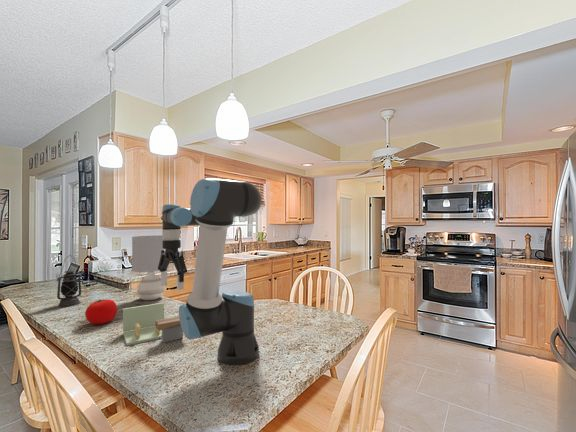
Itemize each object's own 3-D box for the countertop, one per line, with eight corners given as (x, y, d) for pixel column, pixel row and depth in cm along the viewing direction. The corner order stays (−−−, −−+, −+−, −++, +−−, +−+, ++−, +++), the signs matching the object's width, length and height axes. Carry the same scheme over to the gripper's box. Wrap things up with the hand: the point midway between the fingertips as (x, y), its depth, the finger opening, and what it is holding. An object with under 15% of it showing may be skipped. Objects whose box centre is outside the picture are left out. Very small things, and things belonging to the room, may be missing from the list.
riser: (182, 338, 124) (182, 324, 124) (162, 343, 120) (162, 328, 120) (181, 336, 126) (181, 322, 126) (161, 341, 122) (161, 326, 122)
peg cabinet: (171, 336, 127) (171, 310, 127) (126, 345, 118) (126, 318, 118) (163, 325, 140) (163, 302, 140) (122, 333, 130) (123, 308, 131)
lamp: (127, 298, 190) (128, 236, 190) (162, 292, 204) (162, 235, 205) (138, 305, 174) (138, 237, 174) (174, 298, 188) (174, 236, 189)
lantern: (78, 300, 186) (78, 253, 186) (84, 303, 179) (84, 254, 180) (53, 305, 175) (54, 255, 176) (60, 308, 169) (60, 256, 170)
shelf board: (188, 324, 124) (188, 318, 124) (158, 330, 117) (158, 324, 117) (184, 320, 129) (184, 314, 129) (155, 326, 122) (155, 320, 122)
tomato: (121, 322, 145) (121, 299, 145) (88, 329, 135) (88, 305, 135) (113, 316, 154) (113, 294, 154) (81, 323, 144) (81, 300, 144)
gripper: (195, 239, 125) (195, 289, 124) (165, 238, 140) (165, 283, 140) (179, 240, 119) (179, 293, 118) (149, 239, 134) (149, 285, 134)
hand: (172, 287), depth 129 cm, fingers open, 13 cm apart
